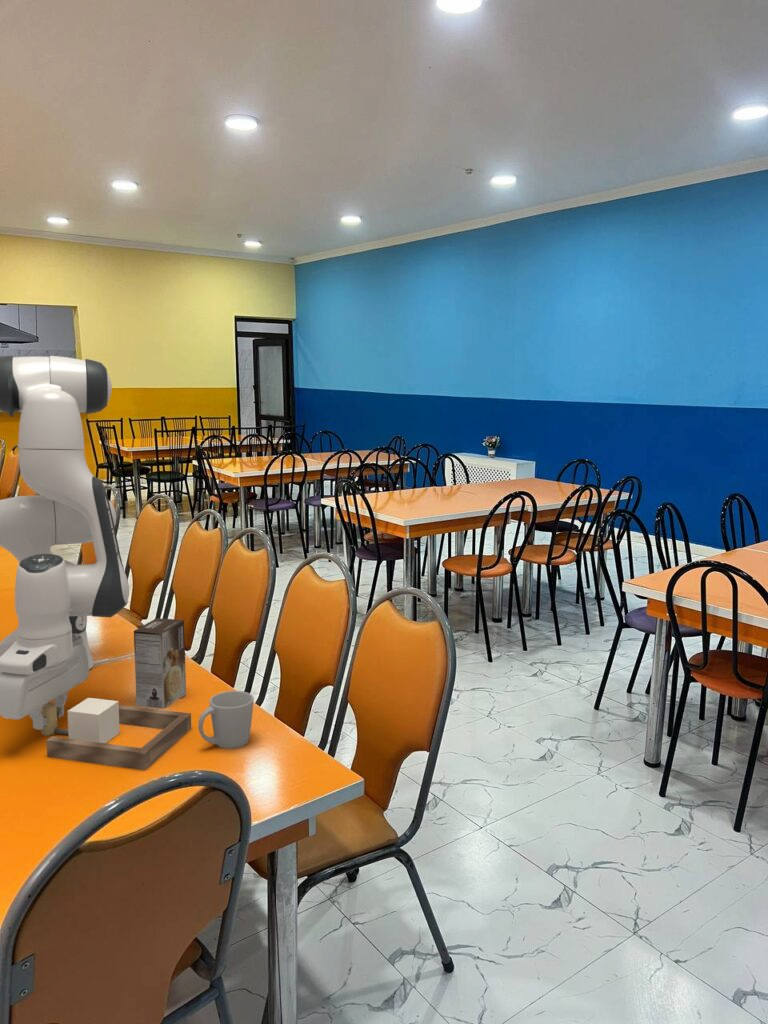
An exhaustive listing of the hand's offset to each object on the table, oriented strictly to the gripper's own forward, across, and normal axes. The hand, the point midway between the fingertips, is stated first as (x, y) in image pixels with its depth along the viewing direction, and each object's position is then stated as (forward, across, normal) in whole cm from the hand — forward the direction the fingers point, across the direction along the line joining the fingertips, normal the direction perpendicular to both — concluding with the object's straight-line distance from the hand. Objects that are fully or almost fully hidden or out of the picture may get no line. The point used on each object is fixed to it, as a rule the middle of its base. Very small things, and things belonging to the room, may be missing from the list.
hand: (48, 722), depth 132 cm
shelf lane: (+3, 0, +14) cm, 15 cm away
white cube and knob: (+2, 0, +5) cm, 6 cm away
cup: (+3, -4, +32) cm, 32 cm away
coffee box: (+3, -19, +12) cm, 22 cm away
